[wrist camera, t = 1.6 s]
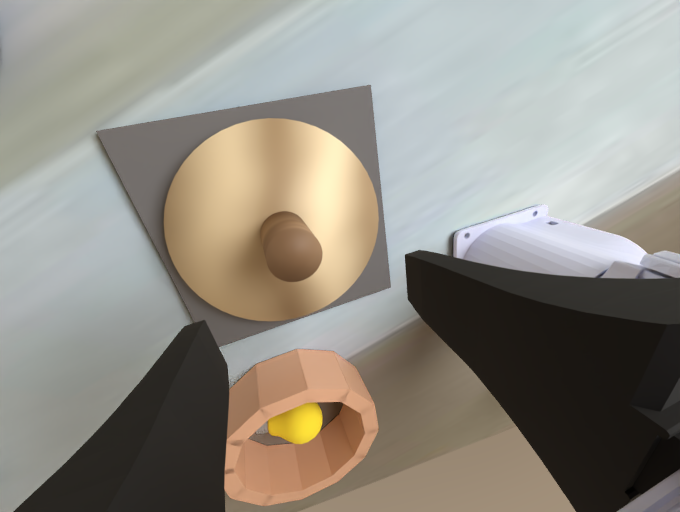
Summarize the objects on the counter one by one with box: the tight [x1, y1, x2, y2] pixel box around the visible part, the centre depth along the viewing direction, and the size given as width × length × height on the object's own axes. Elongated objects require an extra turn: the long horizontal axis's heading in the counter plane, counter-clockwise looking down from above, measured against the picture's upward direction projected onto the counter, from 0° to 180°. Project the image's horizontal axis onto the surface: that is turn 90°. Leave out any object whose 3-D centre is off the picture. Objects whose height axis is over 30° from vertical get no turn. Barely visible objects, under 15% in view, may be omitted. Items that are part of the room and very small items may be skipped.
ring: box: [224, 349, 379, 506], centre depth 23 cm, size 12×12×4 cm
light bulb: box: [255, 402, 323, 444], centre depth 23 cm, size 3×6×4 cm, turn 97°
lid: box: [164, 118, 379, 321], centre depth 16 cm, size 13×13×4 cm
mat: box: [96, 85, 391, 347], centre depth 18 cm, size 14×14×1 cm
